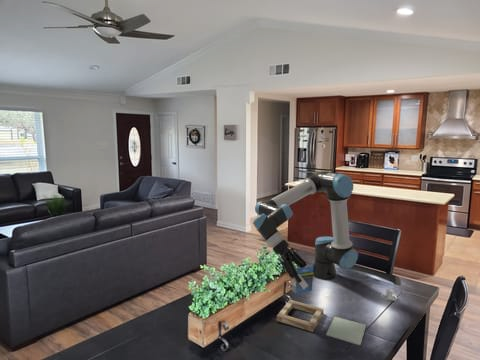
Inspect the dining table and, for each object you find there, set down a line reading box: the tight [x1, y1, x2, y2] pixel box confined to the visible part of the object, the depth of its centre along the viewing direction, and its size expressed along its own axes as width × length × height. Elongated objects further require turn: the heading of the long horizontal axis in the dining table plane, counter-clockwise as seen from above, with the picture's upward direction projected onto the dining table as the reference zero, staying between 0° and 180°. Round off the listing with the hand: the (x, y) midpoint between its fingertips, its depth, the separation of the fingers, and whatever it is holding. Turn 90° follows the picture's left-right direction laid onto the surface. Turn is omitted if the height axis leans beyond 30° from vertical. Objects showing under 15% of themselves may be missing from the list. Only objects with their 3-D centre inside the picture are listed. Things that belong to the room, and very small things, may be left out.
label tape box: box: [291, 265, 314, 295], centre depth 155 cm, size 9×4×12 cm, turn 111°
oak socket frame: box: [276, 299, 325, 333], centre depth 157 cm, size 17×17×2 cm
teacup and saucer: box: [380, 288, 398, 302], centre depth 178 cm, size 9×8×4 cm
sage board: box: [325, 316, 367, 346], centre depth 148 cm, size 16×14×1 cm
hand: (309, 283), depth 153 cm, fingers closed on label tape box, 9 cm apart
